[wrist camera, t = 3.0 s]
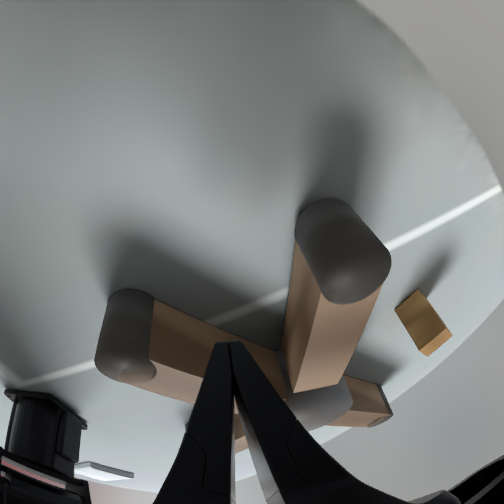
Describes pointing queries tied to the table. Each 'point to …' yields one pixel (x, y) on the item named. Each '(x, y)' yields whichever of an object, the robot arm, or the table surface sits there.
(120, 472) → the hard drive
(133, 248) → the table surface
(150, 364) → the stool base
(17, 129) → the table surface
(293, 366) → the folding leg
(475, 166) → the table surface
